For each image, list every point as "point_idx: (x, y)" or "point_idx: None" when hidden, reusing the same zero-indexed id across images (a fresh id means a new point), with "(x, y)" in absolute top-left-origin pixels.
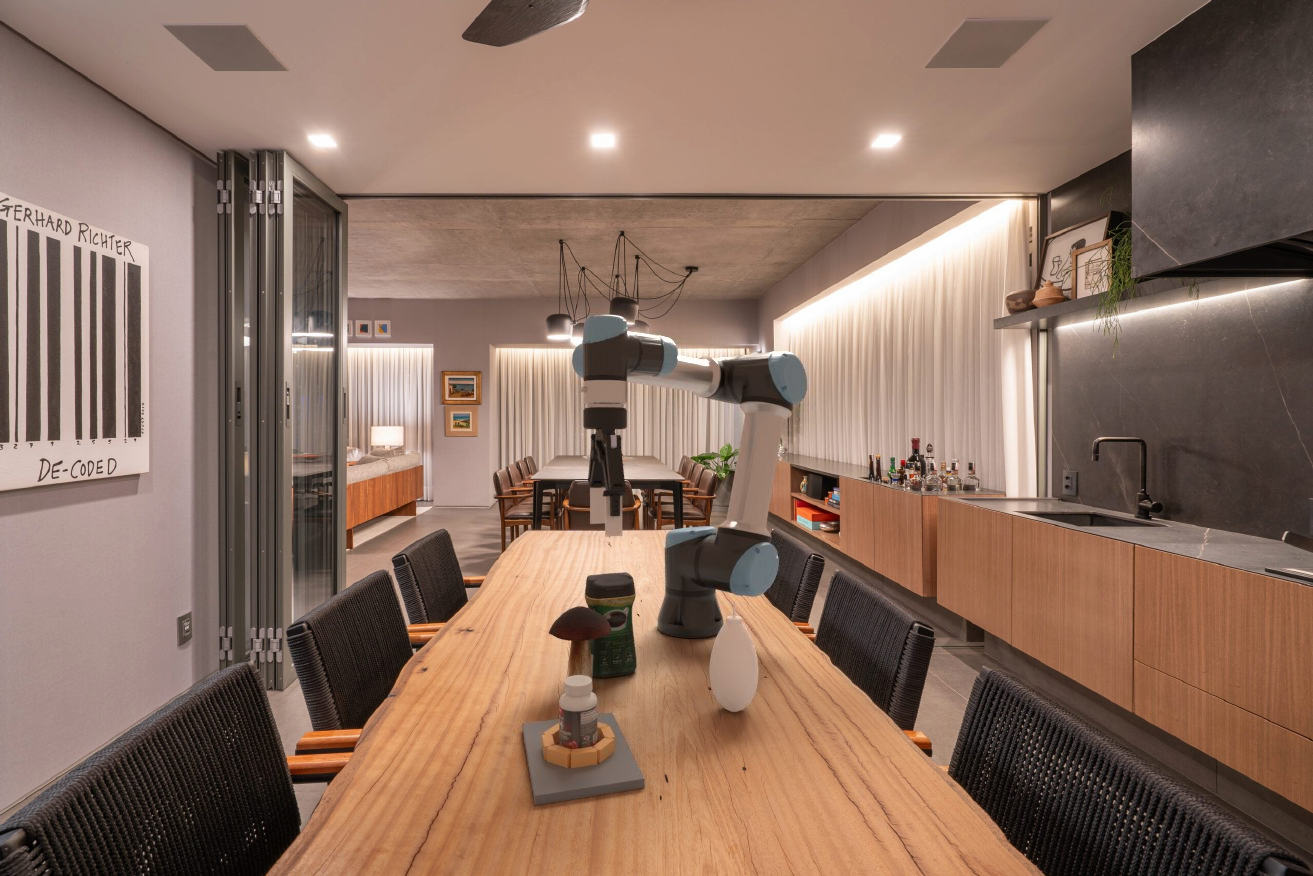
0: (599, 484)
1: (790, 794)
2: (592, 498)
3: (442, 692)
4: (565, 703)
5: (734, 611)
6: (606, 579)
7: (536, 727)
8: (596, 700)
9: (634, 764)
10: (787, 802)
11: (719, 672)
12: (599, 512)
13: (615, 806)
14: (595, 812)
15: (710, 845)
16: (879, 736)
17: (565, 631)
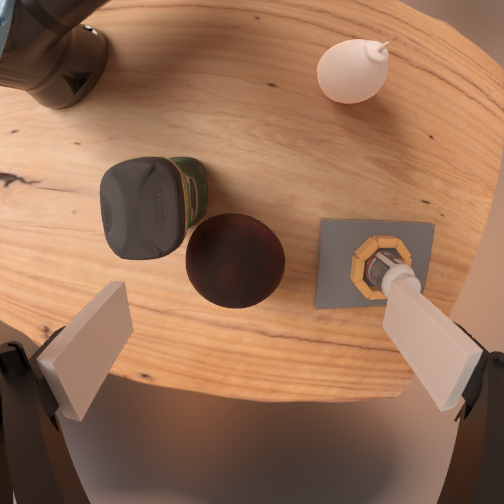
0: (39, 393)
1: (461, 127)
2: (95, 383)
3: (203, 365)
4: None
5: (384, 48)
6: (155, 224)
7: (328, 297)
8: (408, 266)
9: (417, 226)
10: (466, 135)
11: (367, 98)
12: (112, 323)
13: (438, 248)
14: (438, 262)
15: (481, 204)
16: (405, 14)
17: (268, 294)
